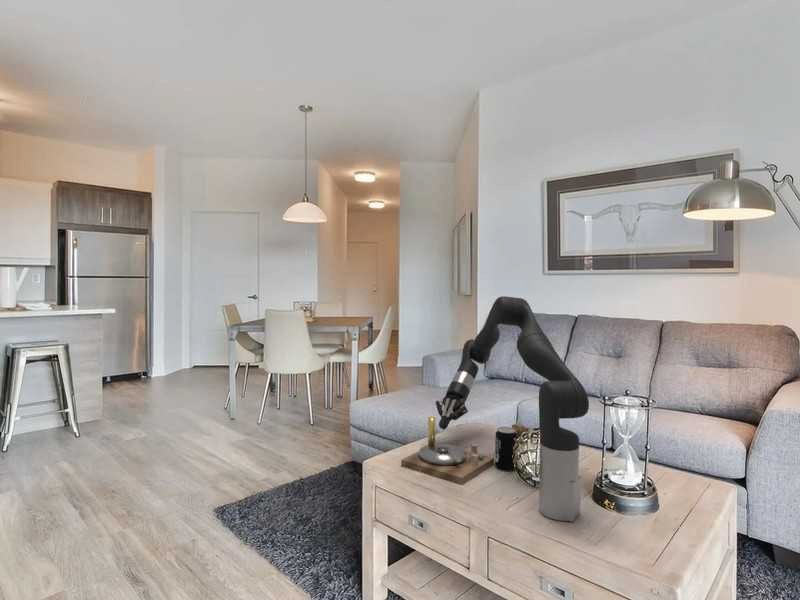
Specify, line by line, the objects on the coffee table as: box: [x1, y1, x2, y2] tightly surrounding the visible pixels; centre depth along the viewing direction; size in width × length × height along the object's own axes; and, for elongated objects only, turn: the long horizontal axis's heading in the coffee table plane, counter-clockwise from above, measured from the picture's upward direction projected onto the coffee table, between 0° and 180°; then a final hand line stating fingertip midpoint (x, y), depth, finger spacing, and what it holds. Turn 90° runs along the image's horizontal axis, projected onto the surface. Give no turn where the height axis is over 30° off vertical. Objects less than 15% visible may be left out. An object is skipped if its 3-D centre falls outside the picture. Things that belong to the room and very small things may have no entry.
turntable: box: [400, 442, 495, 486], centre depth 149 cm, size 22×20×5 cm
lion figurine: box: [511, 423, 529, 439], centre depth 163 cm, size 15×5×9 cm, turn 71°
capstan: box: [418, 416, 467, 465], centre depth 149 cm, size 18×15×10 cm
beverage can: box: [494, 426, 518, 472], centre depth 148 cm, size 7×7×12 cm
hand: (441, 427), depth 162 cm, fingers closed
